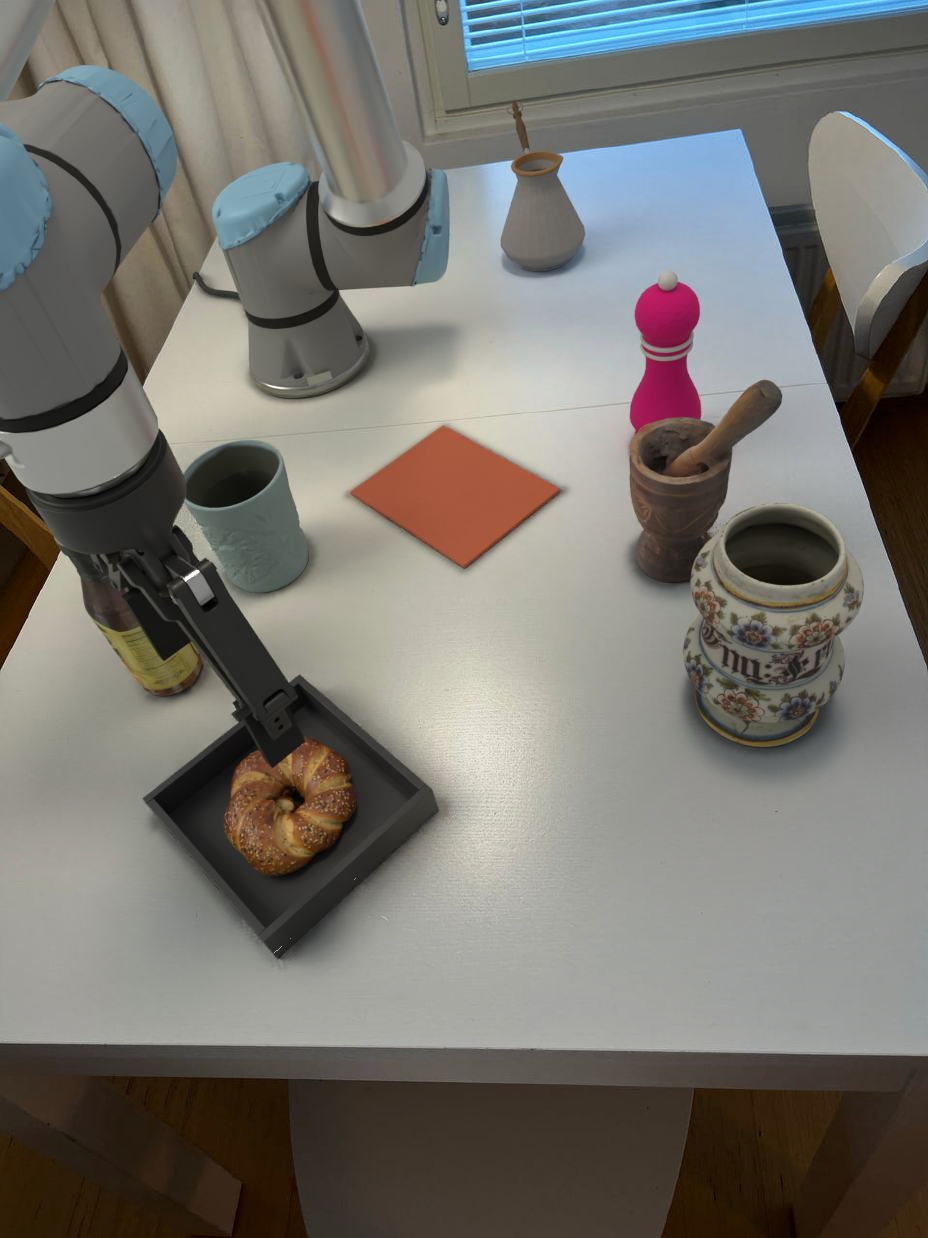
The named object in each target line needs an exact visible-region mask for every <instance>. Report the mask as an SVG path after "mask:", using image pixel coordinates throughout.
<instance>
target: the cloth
mask: <svg viewBox="0 0 928 1238" xmlns="http://www.w3.org/2000/svg"><path fill="white" fill-rule="evenodd" d="M560 492H561V489H560V488H559V487H557V486H556V485H554V484H552V483H550V482H548V481H546V480H545V479H543V478H541V477H539V476H537V475H535V474H533V473H532V472H530V471H528V470H527V469H525V468H523V467H521V466H519V465H517V464H515V463H513V462H512V461H510V460H508V459H506V458H505V457H503V456H500V455H499V454H497V453H495V452H493V451H491V450H490V449H487V448H486V447H484V446H482V445H480V444H478V443H477V442H474V441H473V440H471V439H469V438H468V437H465V436H463V435H462V434H460V433H458V432H456V431H455V430H454V429H453V430H452V429H451V428H449V427H447V426H445V425H442V426H440V427H438V428H437V429H435V430H434V431H433V432H432V433H430V434H429V435H427V436H426V437H425V438H423V439H422V440H420V441H419V442H417V443H416V444H414V446H412V447H411V448H409V449H408V450H406V451H405V452H403V453H402V454H401V455H399V456H398V457H396V458H395V459H394V460H392V461H391V462H389V463H388V464H386V465H385V466H384V467H382V468H381V469H379V470H378V471H377V472H375V473H374V474H372V476H370V477H369V478H367V479H366V480H365V481H363V482H361V483H360V484H359V485H357V486H356V487H354V488H353V489H352V490H350V491H349V493H350V495H351V496H352V497H354V498H356V499H357V500H359V501H360V502H362V503H363V504H365V505H367V506H368V507H369V508H371V509H373V510H374V511H375V512H377V513H378V514H380V515H382V516H383V517H385V518H386V519H388V520H389V521H391V522H392V523H394V524H395V525H397V526H398V527H400V528H401V529H403V530H404V531H406V532H408V533H409V534H411V535H412V536H414V537H415V538H417V539H418V540H420V541H422V542H423V543H425V544H426V545H427V546H429V547H431V548H432V549H433V550H435V551H437V552H438V553H440V554H441V555H442V556H444V557H445V558H446V559H448V560H450V561H452V562H453V563H455V564H456V565H458V566H459V567H461V568H463V569H465V568H467V567H469V565H470V564H472V563H473V562H474V561H476V560H477V559H478V558H479V557H480V556H482V555H484V554H485V553H486V552H487V551H488V550H489V549H490V548H492V547H493V546H495V544H498V542H499V541H501V540H502V539H503V538H504V537H506V536H507V535H508V534H509V533H510V532H512V531H513V530H514V529H516V528H517V527H518V526H519V525H521V524H523V522H524V521H526V520H527V519H528V518H529V517H530V516H532V515H533V514H534V513H536V512H537V511H538V510H539V509H541V508H542V507H543V506H544V505H545V504H547V503H548V502H549V501H550V500H551V499H553V498H554V497H556V496H557V495H558V494H559V493H560Z"/></svg>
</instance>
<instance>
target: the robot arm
mask: <svg viewBox="0 0 928 1238" xmlns="http://www.w3.org/2000/svg"><path fill="white" fill-rule="evenodd" d="M56 1H57V0H0V461H1V460H3V459H4V460H5V461H6V463H7V465H8V466H9V467H10V469H11V471H12V472H13V474H14V475H15V477H16V479H17V480H18V481H19V482H20V483H21V484H22V485H23V486H24V487H25V491H26V494H27V497H28V499H29V500H30V502H31V503H32V504H33V507H35V509H36V511H37V512H38V514H39V515H40V517H41V518H42V520H43V521H44V523H45V524H46V526H47V527H48V529H49V530H50V532H51V534H52V535H53V537H54V536H55V538H56V539H57V540H58V541H59V542H60V543H61V544H62V545H64V546H65V547H67V548H68V549H70V550H73V551H76V552H79V553H84V554H90V555H91V558H92V560H93V562H94V566H95V567H96V568H97V570H100V571H101V572H102V573H104V572H105V571H107V570H108V571H109V578H110V579H109V580H110V581H111V582H110V583H111V584H112V586H113V587H114V588H116V589H118V590H119V591H122V590H123V589H125V590H126V593H125V594H123V595H122V596H121V597H122V598H123V600H124V601H125V603H126V605H127V606H128V608H129V609H130V611H131V613H132V614H133V616H134V617H135V619H136V621H137V622H138V624H139V626H140V627H141V629H142V630H143V632H144V634H145V635H146V637H147V638H148V640H149V642H150V643H151V645H152V646H153V648H154V650H155V651H156V653H157V654H158V656H159V657H160V658H161V659H162V660H163V661H165V660H167V659H168V658H169V657H171V656H172V655H174V654H175V653H176V652H178V651H179V650H180V649H182V648H183V647H185V646H186V645H187V644H189V643H190V642H191V641H192V643H193V644H194V645H195V647H196V648H197V650H198V653H199V654H200V655H201V657H203V659H204V660H205V661H206V663H207V664H208V665H209V667H211V669H212V670H213V671H214V673H215V674H216V675H217V677H218V678H219V679H220V681H221V682H222V683H223V684H224V685H225V687H226V689H228V691H229V692H230V693H231V696H233V698H234V699H235V700H234V701H233V702H232V705H233V706H234V708H235V710H233V712H231V713H230V715H231V716H232V717H233V718H234V719H235V721H237V723H238V722H240V721H242V720H243V722H244V724H245V726H246V727H247V729H248V731H249V733H250V735H251V736H252V738H253V740H254V742H255V743H256V745H257V747H258V749H259V751H260V752H261V754H262V756H263V758H264V759H265V761H266V762H267V763H268V764H269V765H270V766H271V767H272V768H274V767H275V766H276V765H277V764H279V763H280V762H281V761H282V760H283V759H285V758H286V757H287V756H288V755H290V754H291V753H292V752H293V751H294V750H296V749H297V748H298V747H299V746H300V745H302V744H303V743H304V742H305V739H304V737H303V735H302V733H301V731H300V729H299V727H298V725H297V723H296V721H295V719H294V717H293V715H292V713H291V711H290V709H289V707H288V705H289V704H290V703H292V702H293V701H294V700H295V699H297V698H298V696H297V693H296V692H295V691H296V690H295V689H294V687H293V686H292V685H290V683H289V682H290V681H288V679H287V678H286V676H285V675H284V673H283V671H282V670H281V668H280V667H279V666H278V664H277V662H276V661H275V660H274V658H273V657H272V655H271V654H270V652H269V651H268V649H267V648H266V646H265V645H264V643H263V641H262V640H261V639H260V637H259V636H258V634H257V633H256V631H255V630H254V628H253V627H252V625H251V624H250V622H249V621H248V619H247V618H246V616H245V615H244V614H243V611H242V610H241V609H240V607H239V606H238V604H237V603H236V601H235V600H234V598H233V597H232V595H231V594H230V592H229V590H228V588H227V587H226V585H225V583H224V581H223V579H222V578H221V576H220V574H219V572H218V571H217V570H218V568H217V566H216V565H215V563H214V562H213V561H210V559H208V558H207V557H204V558H203V559H201V560H200V559H199V558H198V557H197V555H196V554H195V552H194V545H193V543H192V541H191V540H190V539H189V537H188V535H186V533H185V532H184V531H183V530H182V528H181V527H179V525H177V524H175V521H176V519H177V517H178V515H179V512H180V511H181V510H182V507H183V506H184V504H185V503H184V500H185V496H186V481H185V477H184V475H183V473H184V472H183V471H182V469H181V467H180V465H179V463H178V460H177V458H176V457H175V455H174V452H173V450H172V449H171V448H172V447H171V446H170V445H169V442H168V439H167V438H166V436H165V434H164V431H162V430H161V429H160V428H159V419H158V418H159V417H158V415H157V414H156V412H155V409H154V408H153V405H152V404H151V401H150V399H149V397H148V395H147V393H146V392H145V389H144V387H143V385H142V382H141V381H140V378H139V377H138V375H137V373H136V370H135V369H134V367H133V364H132V362H131V360H130V359H129V356H128V354H127V353H126V351H125V350H123V347H122V345H121V344H120V342H119V340H118V337H117V336H116V335H117V334H116V333H115V330H114V328H113V326H112V323H111V322H110V319H109V317H108V315H107V312H106V310H105V308H104V306H103V303H102V301H101V295H102V293H103V292H104V290H105V289H106V287H108V285H109V284H110V282H111V280H112V279H113V278H114V276H115V275H116V273H117V271H118V269H119V267H120V266H121V264H122V263H123V262H124V260H125V259H126V258H127V256H128V255H129V253H130V252H131V251H132V249H133V248H134V247H135V245H136V244H137V243H138V241H139V240H140V238H141V237H142V235H143V234H144V233H145V231H147V229H148V228H149V227H150V226H151V224H152V223H153V224H154V223H155V222H156V220H157V219H158V216H160V215H161V211H162V207H163V206H164V200H165V199H166V196H167V194H168V193H169V191H170V189H171V187H172V184H173V182H174V180H175V178H176V173H177V166H178V151H177V144H176V140H175V136H174V132H173V130H172V128H171V126H170V124H169V122H168V119H167V118H166V116H165V114H164V112H163V110H162V109H161V108H160V107H159V105H158V104H157V103H156V101H155V100H154V99H153V98H152V96H151V95H150V94H149V93H148V92H147V91H146V90H145V89H143V87H142V86H140V85H139V84H138V83H136V82H135V81H134V80H132V79H131V78H129V77H128V76H126V75H124V74H122V73H120V72H117V71H115V70H113V69H111V68H107V67H104V66H100V65H92V64H91V65H88V64H83V65H77V66H72V67H70V68H68V69H65V70H64V71H63V72H61V73H59V74H57V75H56V76H51V77H47V79H46V80H45V81H44V82H41V83H40V84H39V85H38V86H37V88H36V91H35V93H34V94H33V95H30V96H27V97H25V98H19V99H13V100H9V98H10V96H11V93H12V91H13V90H14V88H15V85H16V83H17V81H18V79H19V77H20V75H21V73H22V71H23V69H24V67H25V65H26V63H27V61H28V59H29V57H30V54H31V52H32V50H33V49H34V46H35V44H36V43H37V40H38V38H39V36H40V34H41V32H42V30H43V28H44V26H45V24H46V21H47V20H48V18H49V15H50V13H51V11H52V9H53V7H54V6H55V3H56ZM252 3H253V5H254V8H255V10H256V14H257V15H258V18H259V20H260V22H261V25H262V27H263V29H264V32H265V34H266V36H267V37H266V38H267V39H268V41H269V44H270V46H271V49H272V51H273V54H274V56H275V58H276V61H277V63H278V66H279V69H280V71H281V73H282V75H283V77H284V80H285V82H286V85H287V88H288V89H289V93H290V94H291V97H292V99H293V102H294V104H295V106H296V108H297V112H298V114H299V116H300V118H301V121H302V123H303V126H304V128H305V131H306V133H307V136H308V137H309V141H310V142H311V145H312V147H313V150H314V153H315V154H316V157H317V160H318V162H319V164H320V166H321V170H322V172H321V174H320V177H319V180H311V174H310V173H309V171H308V170H307V169H306V167H305V166H304V165H303V164H301V163H298V162H297V163H295V162H293V161H283V162H276V163H271V164H268V165H265V166H261V167H259V168H256V169H253V170H252V171H249V172H247V173H245V174H244V175H242V176H240V177H238V178H236V179H235V180H234V181H232V182H230V183H229V184H228V185H227V186H226V187H224V189H222V190H221V192H219V193H218V195H217V197H216V198H215V200H214V202H213V205H212V208H211V217H212V222H213V225H214V228H215V232H216V236H217V240H218V241H217V242H218V247H219V248H220V250H221V252H222V254H223V256H224V259H225V261H226V264H227V267H228V270H229V272H230V275H231V278H232V281H233V283H234V286H235V289H236V291H234V290H225V289H217V288H211V287H210V286H208V285H207V284H206V283H205V281H204V280H203V278H202V276H201V274H200V273H199V272H198V271H194V272H193V273H192V280H195V281H196V283H197V284H198V286H199V288H200V289H201V290H202V291H203V292H205V293H206V294H208V295H212V296H214V297H215V296H216V297H224V298H233V299H237V300H239V301H240V302H241V306H242V308H243V310H244V313H245V316H246V319H247V326H248V327H247V329H248V330H247V333H248V335H247V336H248V337H247V338H248V366H249V371H250V373H251V376H252V378H253V381H254V383H255V385H256V386H257V387H258V388H259V389H260V390H261V391H263V392H264V393H266V394H269V395H271V396H274V397H278V398H285V399H300V398H309V397H315V396H318V395H322V394H325V393H328V392H330V391H333V390H335V389H337V388H340V387H342V386H343V385H345V384H347V383H348V382H350V381H351V380H353V379H354V378H355V377H357V376H358V374H359V373H361V372H362V370H363V369H364V368H365V367H366V364H367V363H368V361H369V358H370V354H371V353H370V350H371V349H370V346H369V341H368V337H367V334H366V332H365V330H364V328H363V327H362V326H361V324H360V322H359V321H358V319H357V318H356V316H355V315H354V313H353V312H352V311H351V309H350V307H349V306H348V303H346V302H345V300H344V299H343V297H342V295H341V292H340V291H348V290H365V289H368V290H369V289H382V288H399V287H400V288H401V287H411V288H412V287H415V286H417V285H424V284H430V283H436V282H438V281H440V280H441V279H442V278H443V277H444V275H445V274H446V272H447V270H448V265H449V256H450V254H449V252H450V236H451V235H450V233H451V232H450V231H451V230H450V228H451V221H450V220H451V217H450V215H451V214H450V213H451V211H450V209H451V208H450V191H449V190H450V189H449V180H448V175H447V174H446V172H445V171H444V170H443V169H439V168H435V167H429V168H428V169H427V168H426V164H425V161H424V159H423V156H422V154H421V153H420V152H419V151H418V149H417V148H416V147H415V146H413V145H412V144H411V143H409V142H408V141H406V140H404V139H403V138H402V136H401V135H402V134H401V132H400V129H399V125H398V122H397V119H396V116H395V112H394V108H393V105H392V102H391V98H390V95H389V93H388V89H387V86H386V83H385V79H384V76H383V72H382V69H381V65H380V61H379V59H378V55H377V52H376V48H375V46H374V43H373V39H372V36H371V32H370V29H369V26H368V23H367V20H366V16H365V13H364V10H363V6H362V4H361V0H252Z"/></svg>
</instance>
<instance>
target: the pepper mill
mask: <svg viewBox="0 0 928 1238" xmlns="http://www.w3.org/2000/svg"><path fill="white" fill-rule="evenodd" d="M700 317H701V305H700V301H699V298H698V296H697V294H696V293H695V291H694V290H693V289H692V288H691V287H690V286H688V284H685V283H683V282H680V281H679V280H678V275H677V273H676V272H675V271H673V270H671V269H666V270H664V271H662V272H661V273H660V274H659V275H658V278H657V282H656V283H654V284H652V285H650V286H649V287H647V288H646V289H644V291H643V292H641V294H640V296H639V297H638V299H637V301H636V304H635V308H634V321H635V326H636V327H637V329H638V331H639V332H640V335H639V340H640V344H639V349H640V352H641V353H642V354H643V355H644V356H645V357H644V358H645V369H644V373H643V376H642V378H641V380H640V382H639V384H638V386H637V387H636V389H635V391H634V393H633V396H632V399H631V402H630V405H629V406H630V407H629V421H630V424H631V426H632V428H633V429H634V435H635V434H636V433H638V432H639V430H640V429H641V428H642V427H643V426H645V425H646V424H651V423H653V422H656V421H658V420H660V421H661V420H663V419H669V418H680V417H688V418H695V419H700V420H702V419H701V418H702V403H701V398H700V395H699V392H698V390H697V387H696V385H695V383H694V382H693V380H692V378H691V375H690V374H689V370H688V355H689V353H690V352H692V349H693V348H694V336H695V334H694V330H695V328H696V327H697V325H698V323H699V321H700Z"/></svg>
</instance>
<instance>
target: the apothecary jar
mask: <svg viewBox="0 0 928 1238" xmlns="http://www.w3.org/2000/svg"><path fill="white" fill-rule="evenodd" d="M863 577H864V576H863V572H862V570H861V568H860V565H859V563H858V561H857V559H856V557H855V556H854V555H853V553H852V552H851V550H850V549H849V548H848V547H847V546H846V542H845V540H844V537H843V535H842V534H841V532H840V530H839V529H838V528H837V526H836V524H834V523H833V522H832V521H831V520H829V518H827V516H825V515H824V514H821V513H820V512H818V511H817V510H814V509H812V508H809V507H806V506H803V505H799V504H794V503H788V502H787V503H786V502H770V503H764V504H758V505H755V506H752V507H749V508H745V509H744V510H742V511H739V512H738V513H736V514H735V515H733V516H732V517H731V518H730V519H729V520H728V521H727V522H726V523H725V524H724V526H723V527H722V529H721V530H720V531H719V532H718V533H716V534H714V535H713V536H712V537H711V539H710V540H709V541H708V542H707V543H706V544H705V545H704V546H703V548H702V549H701V550H700V552H699V554H698V555H697V557H696V559H695V561H694V564H693V567H692V572H691V580H690V592H691V596H692V600H693V602H694V605H695V607H696V609H697V611H698V612H699V613H698V614H697V616H696V617H695V618H694V619H693V621H692V622H691V624H690V625H689V627H688V629H687V631H686V634H685V637H684V640H683V646H682V647H683V648H682V659H683V664H684V668H685V671H686V674H687V676H688V678H689V680H690V682H691V683H692V685H693V687H694V699H695V704H696V705H695V706H696V708H697V711H698V712H699V715H701V718H702V719H703V720H704V722H705V723H706V724H707V725H708V726H709V727H710V728H711V729H712V730H714V732H716V733H718V734H719V735H721V736H722V737H723V738H725V739H727V740H729V741H732V742H734V743H737V744H740V745H743V746H748V747H755V748H771V747H777V746H781V745H785V744H789V743H792V742H794V741H795V740H797V739H798V738H801V737H802V736H803V735H805V734H806V733H807V732H808V731H809V730H810V729H811V728H812V726H813V725H814V723H815V722H816V720H817V718H818V715H819V712H820V708H822V707H823V706H824V705H825V704H826V703H828V701H829V700H830V699H831V698H832V697H833V696H834V695H835V693H836V691H837V690H838V688H839V686H840V684H841V682H842V680H843V677H844V671H845V665H846V664H845V661H846V660H845V659H846V658H845V651H844V646H843V642H842V640H841V637H840V636H839V635H841V634H842V633H843V632H844V631H845V630H846V629H847V628H848V627H849V626H850V625H851V624H852V622H854V621H855V618H856V617H857V615H858V614H859V611H860V610H861V607H862V604H863V600H864V595H865V594H864V592H865V591H864V590H865V584H864V578H863Z"/></svg>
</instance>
